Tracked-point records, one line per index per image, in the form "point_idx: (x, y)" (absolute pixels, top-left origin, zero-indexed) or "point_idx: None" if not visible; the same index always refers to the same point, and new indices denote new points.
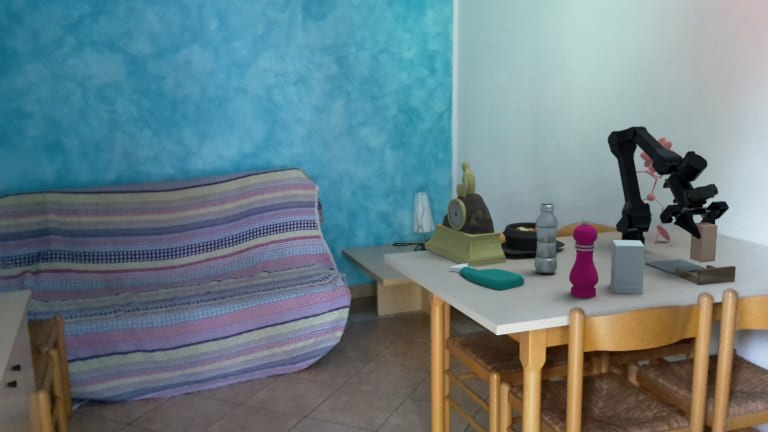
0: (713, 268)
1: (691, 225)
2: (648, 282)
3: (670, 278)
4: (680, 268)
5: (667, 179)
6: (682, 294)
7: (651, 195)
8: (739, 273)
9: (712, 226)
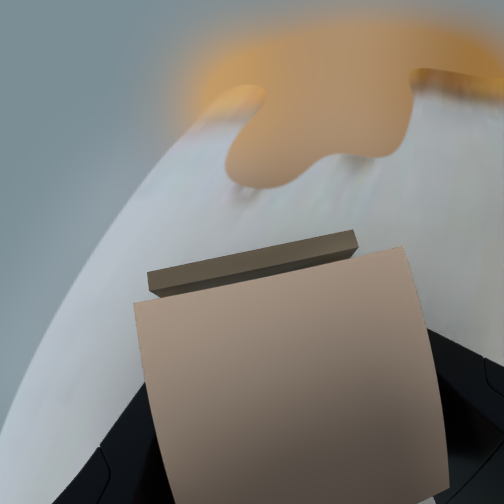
0: (275, 253)
1: (498, 376)
2: (492, 301)
3: None
4: None
5: None
6: (425, 160)
7: None
8: (90, 391)
9: (230, 288)
